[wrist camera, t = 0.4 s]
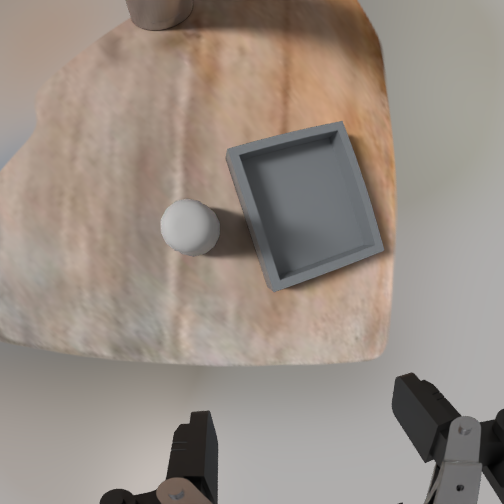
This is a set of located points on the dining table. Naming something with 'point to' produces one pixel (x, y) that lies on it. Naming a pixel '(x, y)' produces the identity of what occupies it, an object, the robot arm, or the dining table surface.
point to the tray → (304, 203)
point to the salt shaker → (190, 227)
